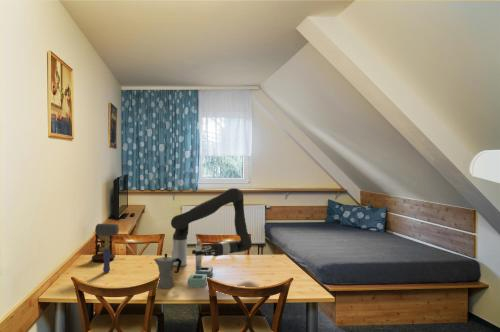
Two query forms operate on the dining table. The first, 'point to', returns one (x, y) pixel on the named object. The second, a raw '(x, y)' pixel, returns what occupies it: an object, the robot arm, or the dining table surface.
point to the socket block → (205, 271)
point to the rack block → (197, 280)
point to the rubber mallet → (106, 240)
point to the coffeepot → (166, 271)
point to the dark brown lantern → (102, 248)
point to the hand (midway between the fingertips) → (193, 252)
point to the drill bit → (198, 258)
